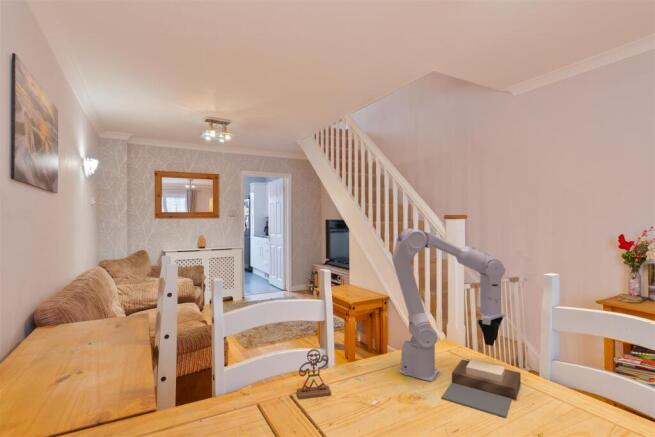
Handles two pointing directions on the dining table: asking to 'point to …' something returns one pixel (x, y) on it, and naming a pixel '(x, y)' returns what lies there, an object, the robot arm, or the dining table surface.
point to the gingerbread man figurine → (313, 391)
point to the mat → (477, 399)
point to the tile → (485, 370)
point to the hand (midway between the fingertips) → (490, 342)
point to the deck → (488, 381)
